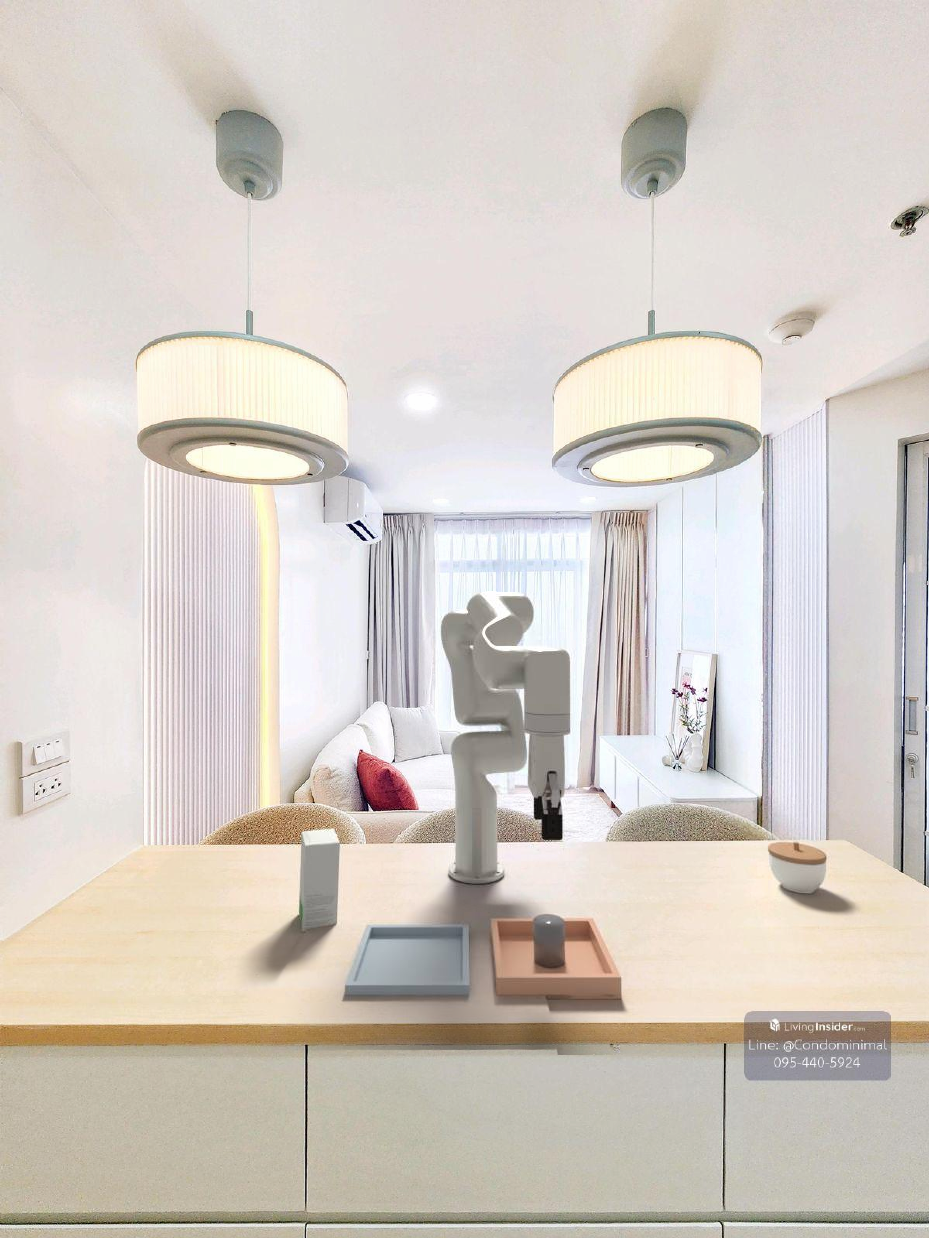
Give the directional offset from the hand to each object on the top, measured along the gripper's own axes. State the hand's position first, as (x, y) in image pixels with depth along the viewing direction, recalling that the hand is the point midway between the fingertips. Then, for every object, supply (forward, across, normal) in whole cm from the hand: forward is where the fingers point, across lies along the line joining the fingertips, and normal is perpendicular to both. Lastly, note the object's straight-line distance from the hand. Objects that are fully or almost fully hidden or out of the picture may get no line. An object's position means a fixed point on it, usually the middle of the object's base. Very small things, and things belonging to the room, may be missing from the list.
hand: (547, 828), depth 92 cm
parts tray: (+21, +1, -22) cm, 30 cm away
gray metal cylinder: (+21, +1, 0) cm, 21 cm away
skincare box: (+22, -14, -41) cm, 48 cm away
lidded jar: (+22, -28, +57) cm, 67 cm away
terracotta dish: (+21, +1, 0) cm, 21 cm away
